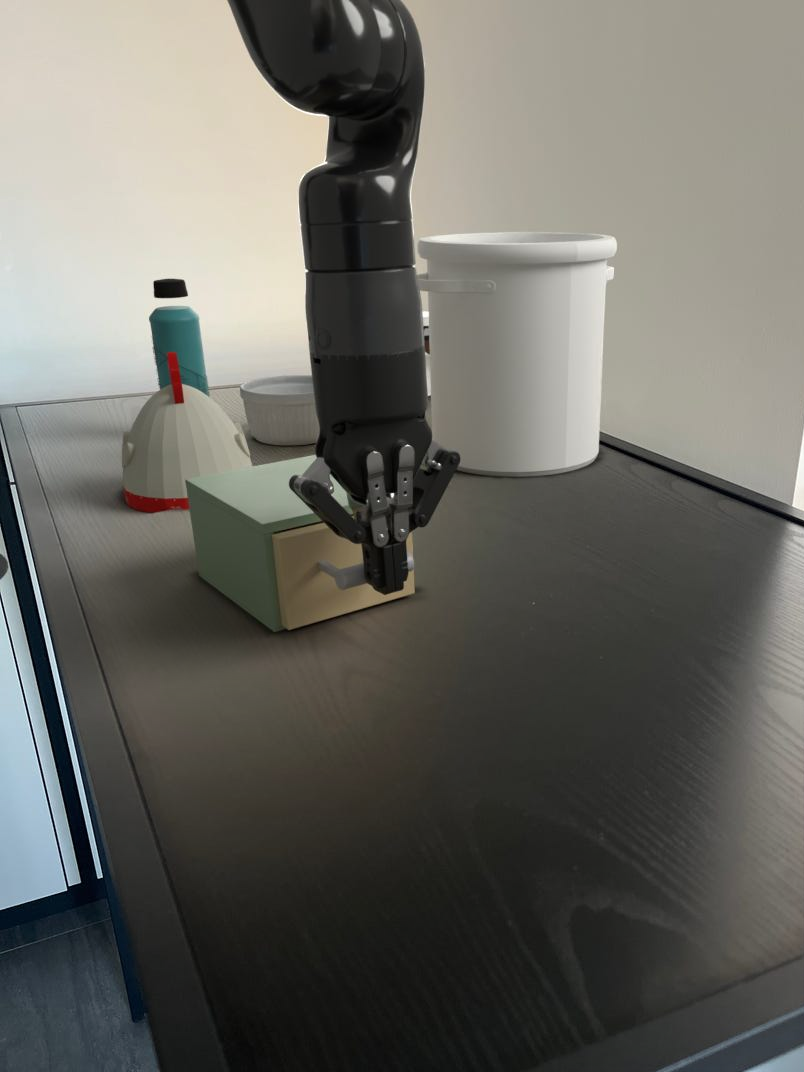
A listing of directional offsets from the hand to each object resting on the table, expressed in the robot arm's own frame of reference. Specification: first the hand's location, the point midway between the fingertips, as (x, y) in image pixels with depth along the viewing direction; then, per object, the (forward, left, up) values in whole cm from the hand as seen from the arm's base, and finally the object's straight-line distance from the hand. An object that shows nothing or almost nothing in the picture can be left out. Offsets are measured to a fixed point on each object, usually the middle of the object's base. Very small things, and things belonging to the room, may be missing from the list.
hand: (387, 589), depth 70 cm
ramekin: (+24, +62, -5) cm, 67 cm away
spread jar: (+53, +75, -5) cm, 92 cm away
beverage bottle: (+13, +71, -5) cm, 72 cm away
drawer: (0, +10, -4) cm, 11 cm away
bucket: (+40, +35, -5) cm, 53 cm away
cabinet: (0, +14, -5) cm, 15 cm away
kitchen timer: (+3, +46, -5) cm, 46 cm away
